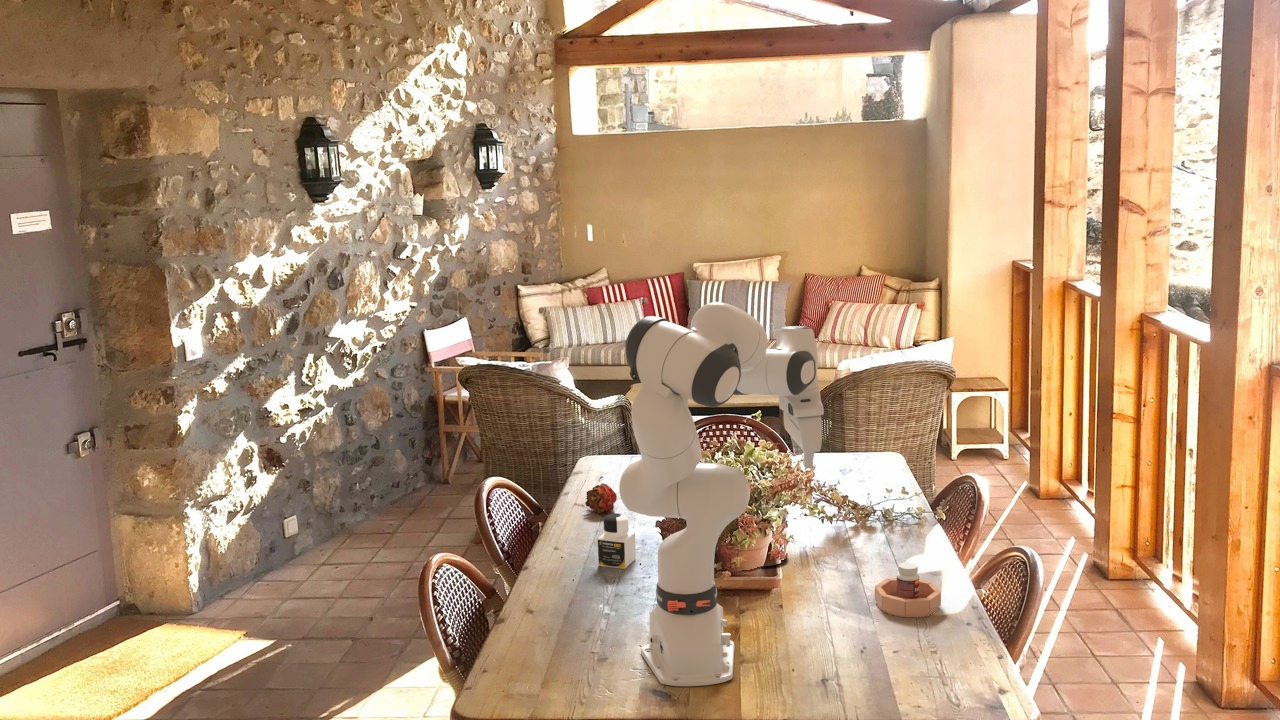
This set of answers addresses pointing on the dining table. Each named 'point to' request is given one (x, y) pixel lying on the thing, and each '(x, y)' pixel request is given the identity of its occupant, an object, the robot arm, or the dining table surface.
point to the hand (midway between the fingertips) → (803, 460)
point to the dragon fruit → (601, 498)
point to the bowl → (907, 607)
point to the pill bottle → (908, 581)
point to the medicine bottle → (616, 543)
